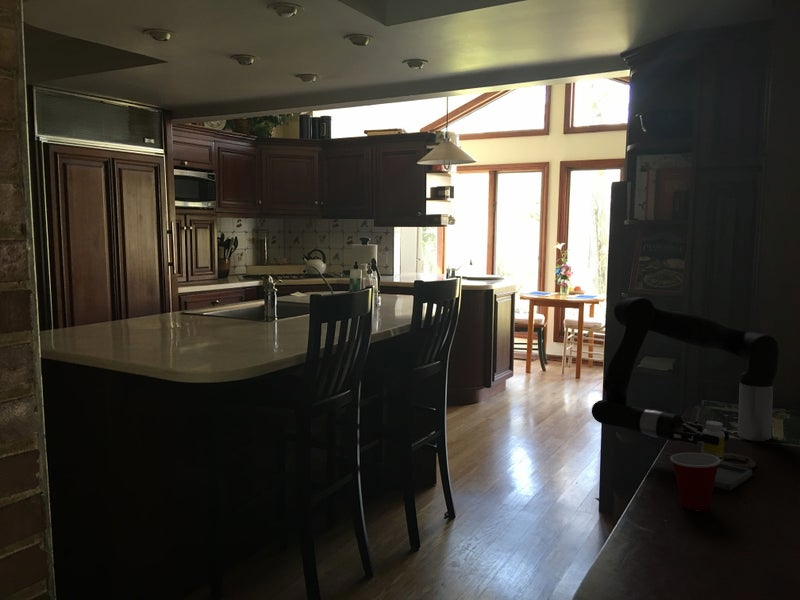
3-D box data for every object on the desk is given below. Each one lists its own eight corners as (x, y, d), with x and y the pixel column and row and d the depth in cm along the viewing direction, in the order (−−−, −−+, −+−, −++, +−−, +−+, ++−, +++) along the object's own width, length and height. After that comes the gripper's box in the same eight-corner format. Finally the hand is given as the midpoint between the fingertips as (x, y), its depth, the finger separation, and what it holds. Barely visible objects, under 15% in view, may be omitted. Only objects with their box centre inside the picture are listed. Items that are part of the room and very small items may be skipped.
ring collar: (723, 455, 185) (723, 451, 184) (759, 463, 177) (759, 459, 177) (709, 463, 178) (709, 459, 178) (745, 472, 171) (745, 467, 171)
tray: (698, 462, 179) (698, 457, 179) (752, 475, 168) (752, 470, 168) (674, 476, 169) (674, 470, 169) (729, 491, 158) (729, 485, 158)
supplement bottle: (727, 462, 166) (729, 426, 164) (706, 462, 166) (708, 425, 165) (717, 455, 171) (719, 419, 170) (697, 455, 171) (699, 419, 170)
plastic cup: (679, 493, 157) (681, 446, 156) (726, 506, 150) (727, 456, 149) (661, 507, 150) (662, 457, 149) (709, 520, 142) (710, 468, 141)
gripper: (649, 416, 173) (712, 430, 161) (673, 407, 183) (735, 419, 170) (648, 443, 174) (711, 459, 161) (672, 432, 183) (734, 446, 171)
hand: (723, 438), depth 166 cm, fingers closed on supplement bottle, 5 cm apart
